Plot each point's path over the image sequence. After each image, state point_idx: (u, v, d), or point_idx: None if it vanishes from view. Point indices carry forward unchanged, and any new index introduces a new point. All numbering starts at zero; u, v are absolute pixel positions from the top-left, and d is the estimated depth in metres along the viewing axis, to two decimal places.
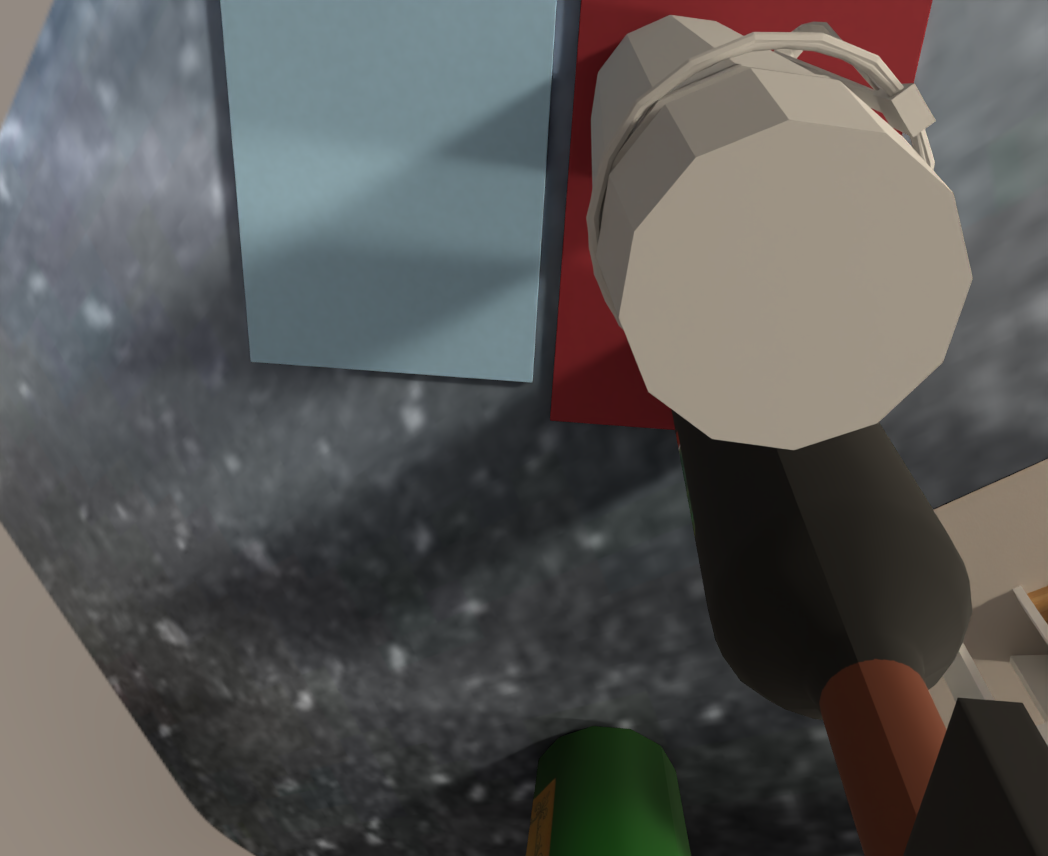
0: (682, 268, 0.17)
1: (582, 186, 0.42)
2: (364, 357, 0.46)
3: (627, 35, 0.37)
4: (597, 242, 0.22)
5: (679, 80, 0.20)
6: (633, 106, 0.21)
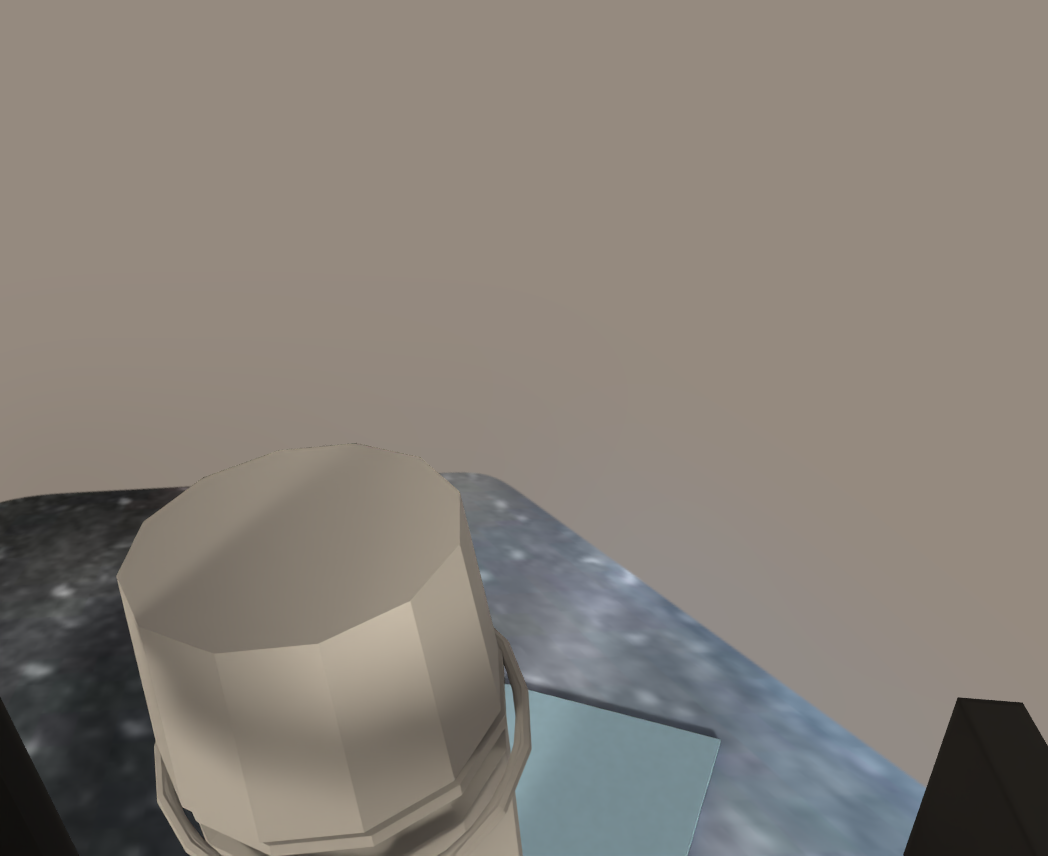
0: (371, 476, 0.19)
1: None
2: None
3: None
4: None
5: (512, 675, 0.21)
6: (504, 638, 0.22)
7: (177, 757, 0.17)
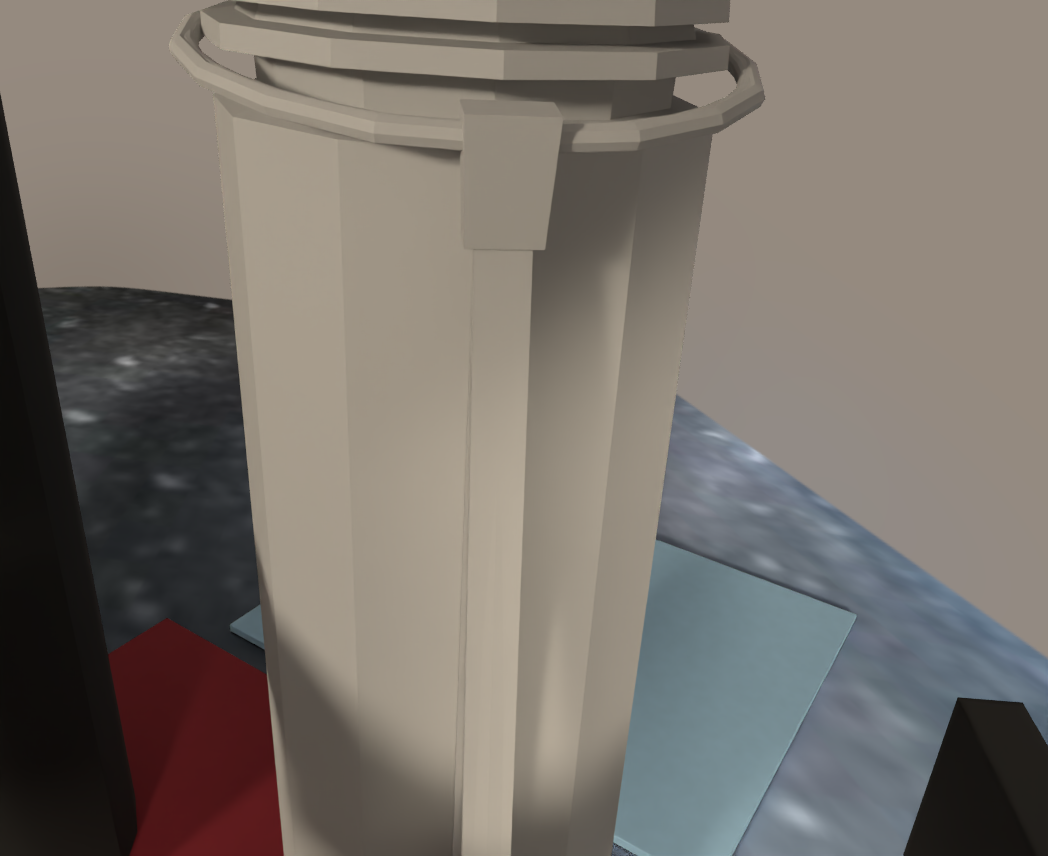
0: None
1: None
2: None
3: None
4: None
5: (734, 56, 0.13)
6: None
7: None
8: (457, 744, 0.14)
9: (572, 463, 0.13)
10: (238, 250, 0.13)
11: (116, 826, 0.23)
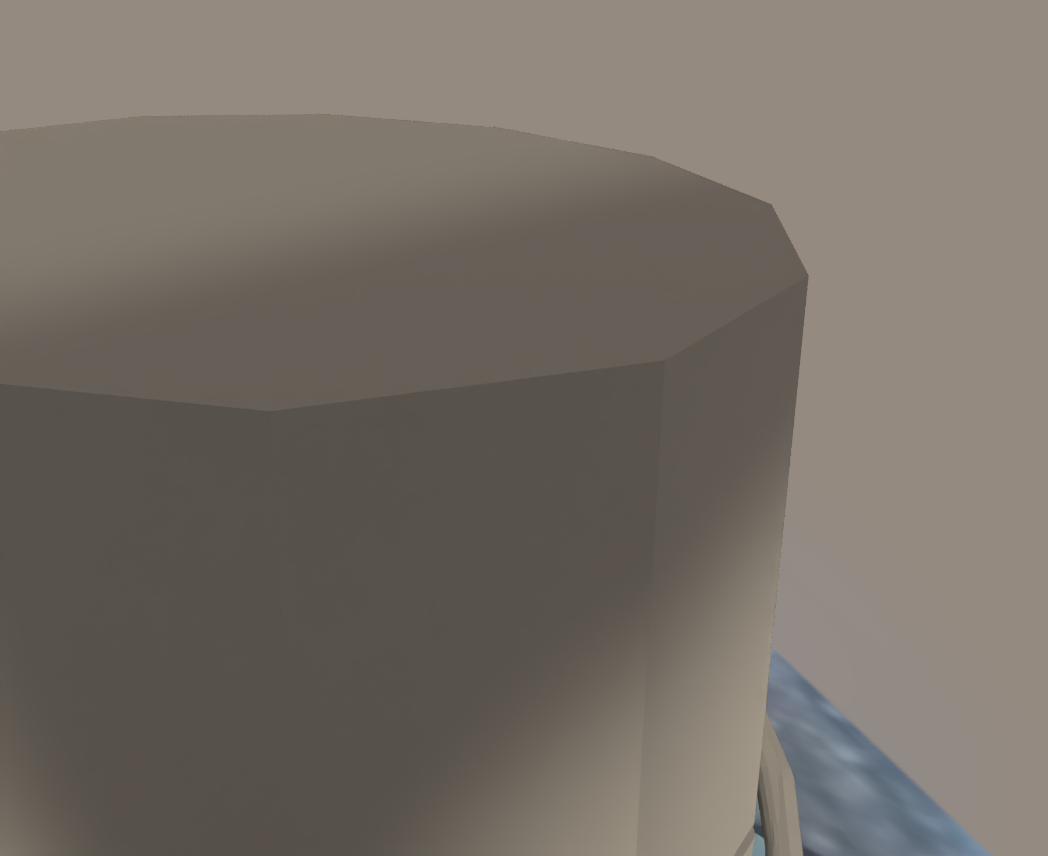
0: (532, 160, 0.08)
1: None
2: None
3: None
4: None
5: None
6: None
7: None
8: None
9: None
10: None
11: None
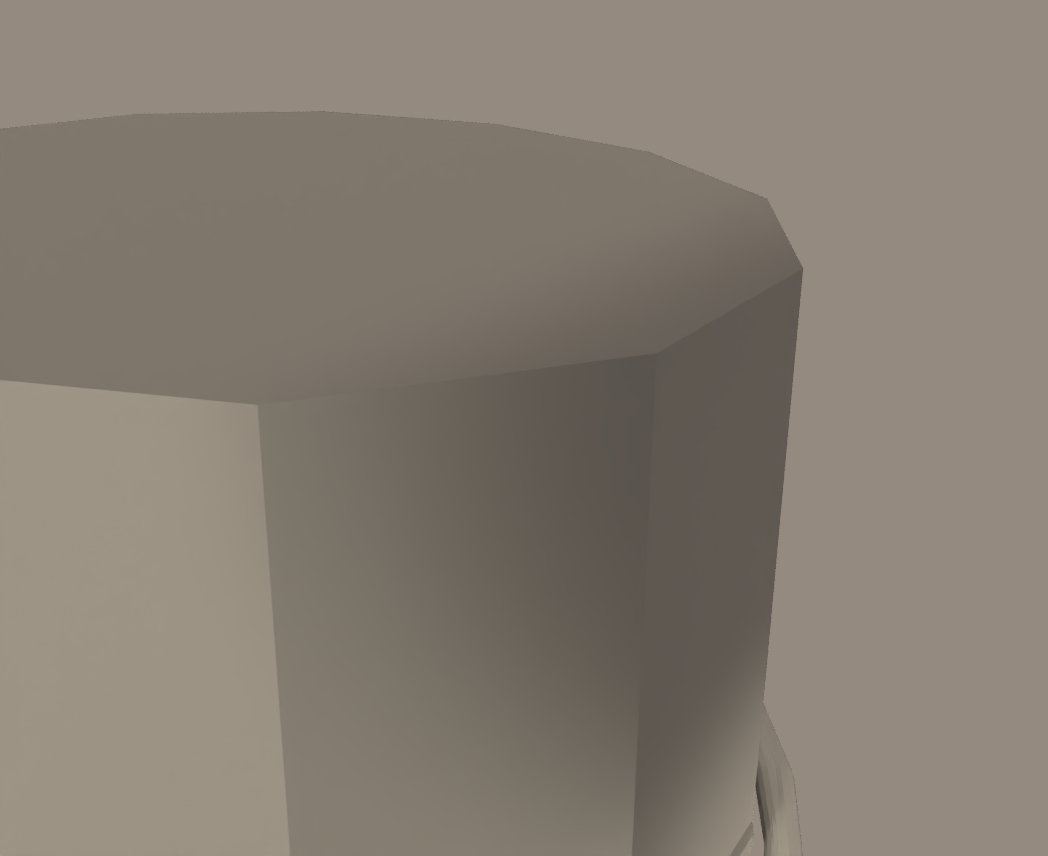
0: (527, 155, 0.08)
1: None
2: None
3: None
4: None
5: None
6: None
7: None
8: None
9: None
10: None
11: None
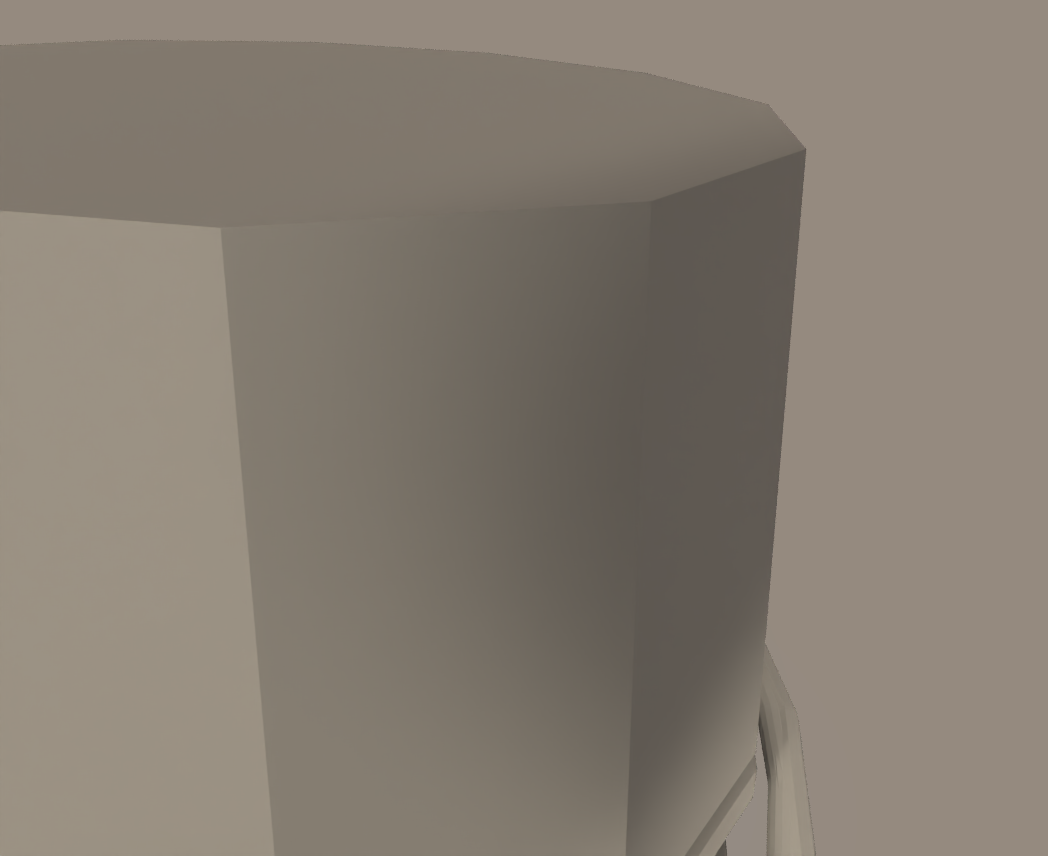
0: (521, 73, 0.07)
1: None
2: None
3: None
4: None
5: None
6: None
7: None
8: None
9: None
10: None
11: None
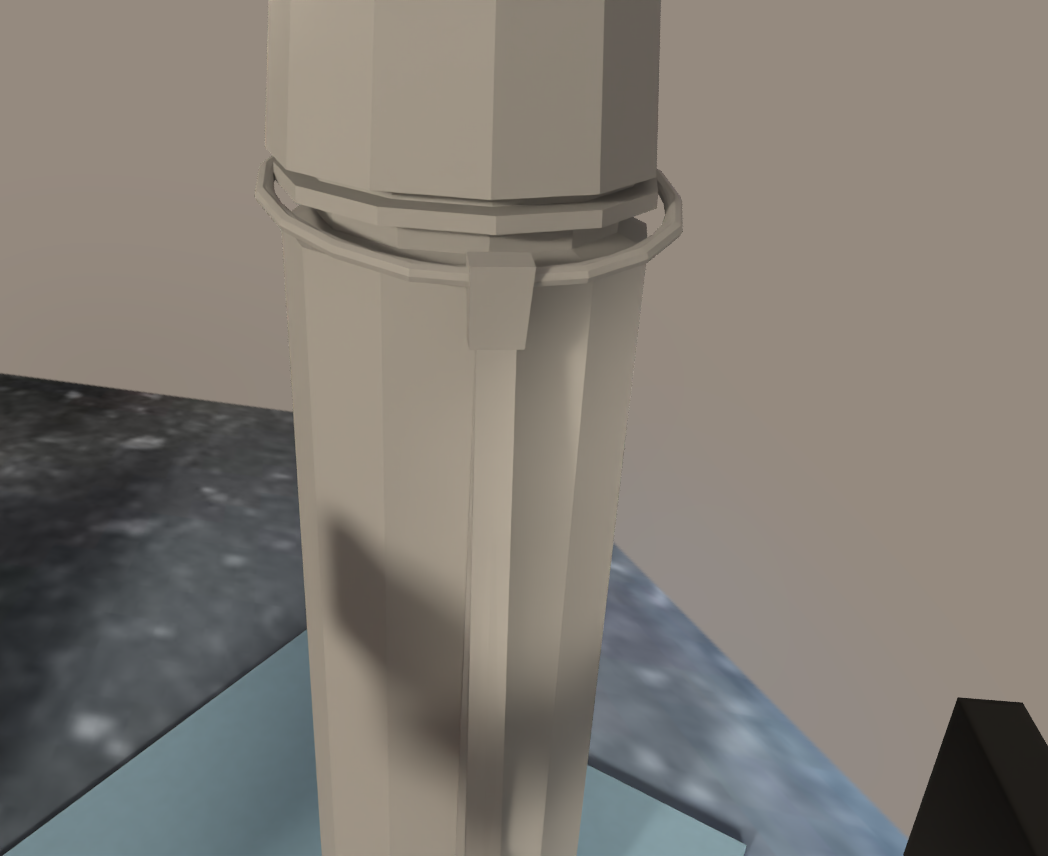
0: None
1: None
2: (210, 718, 0.32)
3: None
4: None
5: (665, 189, 0.18)
6: None
7: (296, 84, 0.15)
8: (462, 700, 0.19)
9: (546, 491, 0.18)
10: (300, 335, 0.18)
11: None
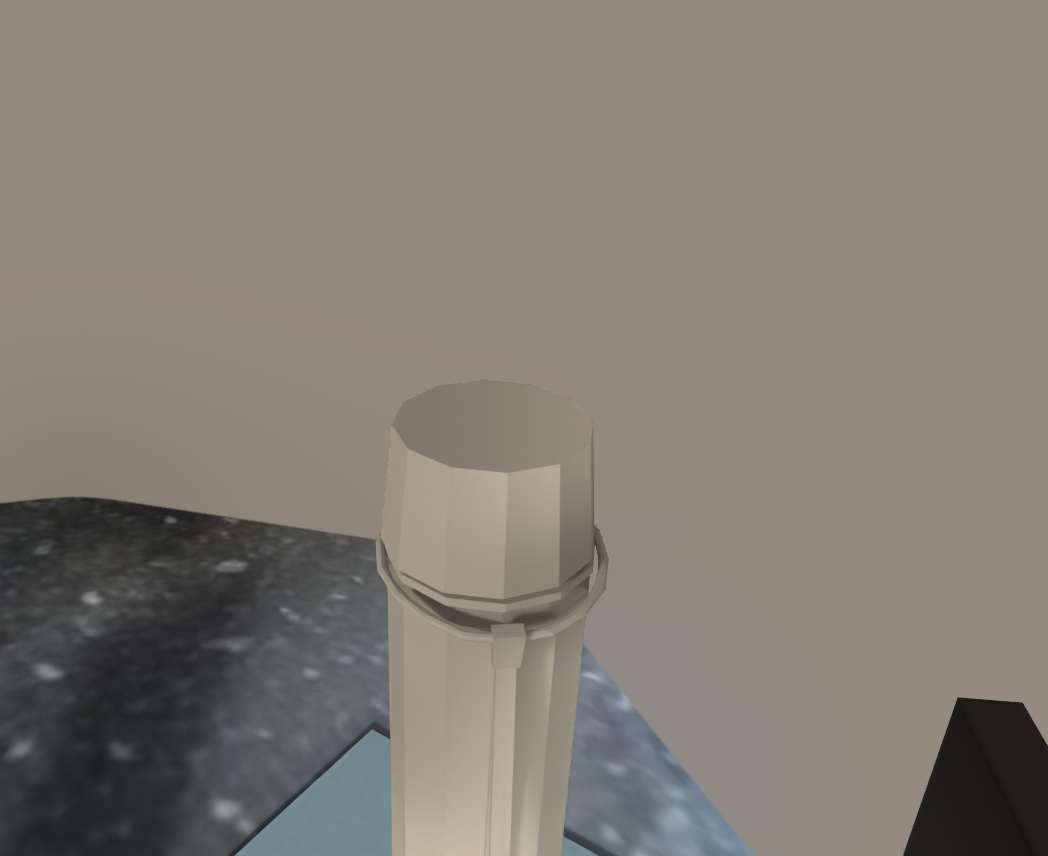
0: (539, 403, 0.32)
1: None
2: (307, 803, 0.47)
3: None
4: None
5: (599, 549, 0.32)
6: (597, 529, 0.33)
7: (404, 534, 0.29)
8: (486, 830, 0.33)
9: (533, 719, 0.32)
10: (398, 634, 0.32)
11: None
